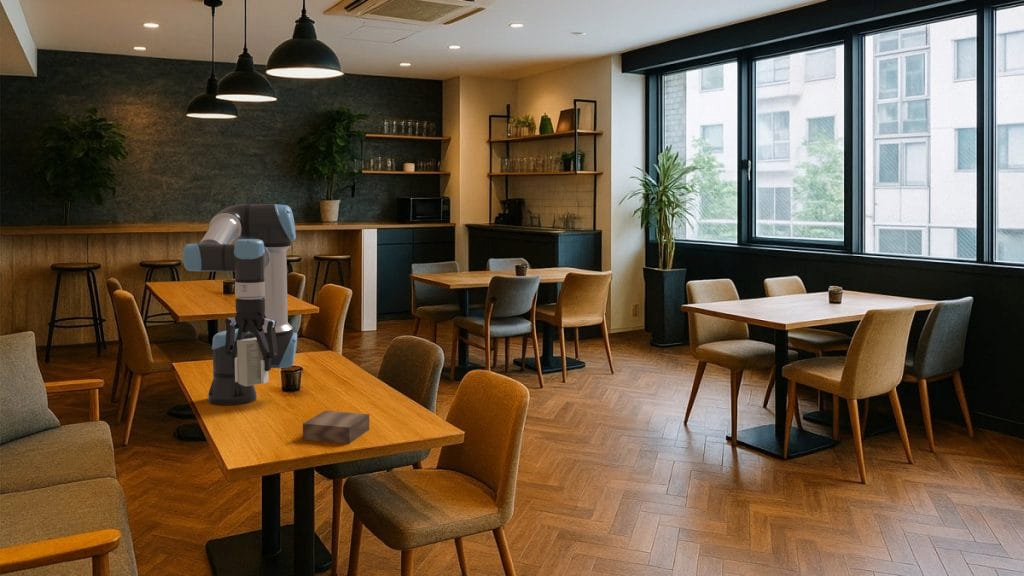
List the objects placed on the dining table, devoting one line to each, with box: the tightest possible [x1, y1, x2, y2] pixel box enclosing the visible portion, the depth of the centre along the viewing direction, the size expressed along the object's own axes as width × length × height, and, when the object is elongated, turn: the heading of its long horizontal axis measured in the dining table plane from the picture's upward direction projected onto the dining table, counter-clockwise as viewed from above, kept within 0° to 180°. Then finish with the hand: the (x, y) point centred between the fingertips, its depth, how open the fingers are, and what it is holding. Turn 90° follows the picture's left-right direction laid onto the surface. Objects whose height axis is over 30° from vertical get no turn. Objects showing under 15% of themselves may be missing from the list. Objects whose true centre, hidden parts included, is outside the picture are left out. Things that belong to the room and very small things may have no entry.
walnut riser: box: [302, 410, 370, 445], centre depth 230 cm, size 14×14×5 cm
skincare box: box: [237, 337, 263, 386], centre depth 216 cm, size 6×4×12 cm
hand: (251, 381), depth 217 cm, fingers closed on skincare box, 7 cm apart
